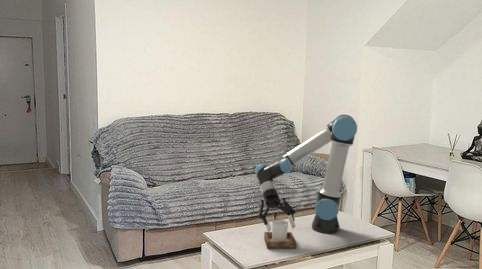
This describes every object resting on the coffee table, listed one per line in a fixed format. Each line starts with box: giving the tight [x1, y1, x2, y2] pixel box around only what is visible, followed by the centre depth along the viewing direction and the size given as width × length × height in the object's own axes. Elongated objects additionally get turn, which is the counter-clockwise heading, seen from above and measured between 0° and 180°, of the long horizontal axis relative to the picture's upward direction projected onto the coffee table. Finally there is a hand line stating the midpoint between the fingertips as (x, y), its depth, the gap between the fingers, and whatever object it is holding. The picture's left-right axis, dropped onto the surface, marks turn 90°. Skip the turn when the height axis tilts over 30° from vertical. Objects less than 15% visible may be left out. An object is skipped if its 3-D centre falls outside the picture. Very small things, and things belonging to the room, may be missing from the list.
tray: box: [263, 231, 297, 250], centre depth 217 cm, size 14×14×4 cm
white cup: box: [271, 219, 289, 241], centre depth 217 cm, size 8×8×10 cm
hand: (282, 228), depth 215 cm, fingers open, 13 cm apart
